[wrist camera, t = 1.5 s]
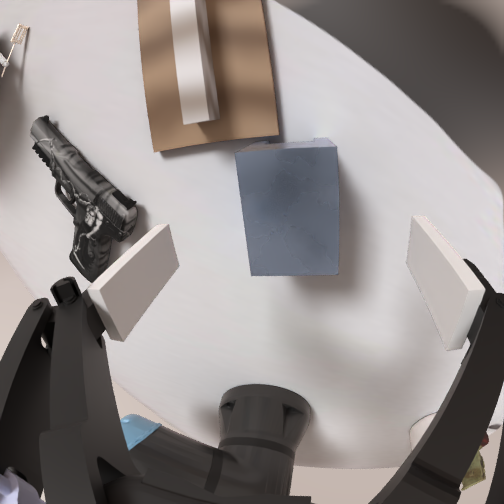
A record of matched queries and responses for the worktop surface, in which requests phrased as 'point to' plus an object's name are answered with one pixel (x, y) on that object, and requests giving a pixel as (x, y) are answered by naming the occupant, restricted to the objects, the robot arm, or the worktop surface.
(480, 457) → the sculpture
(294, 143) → the slate grey block
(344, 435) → the worktop surface
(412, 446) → the cup
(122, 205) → the handgun
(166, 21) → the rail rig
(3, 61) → the satellite
